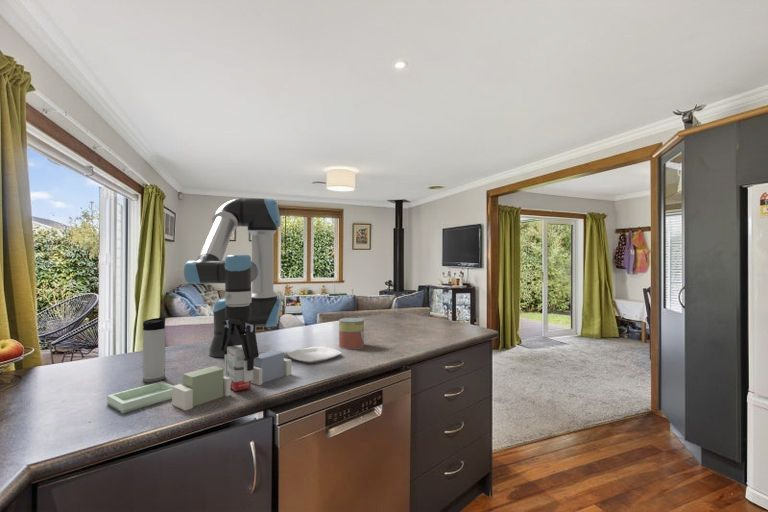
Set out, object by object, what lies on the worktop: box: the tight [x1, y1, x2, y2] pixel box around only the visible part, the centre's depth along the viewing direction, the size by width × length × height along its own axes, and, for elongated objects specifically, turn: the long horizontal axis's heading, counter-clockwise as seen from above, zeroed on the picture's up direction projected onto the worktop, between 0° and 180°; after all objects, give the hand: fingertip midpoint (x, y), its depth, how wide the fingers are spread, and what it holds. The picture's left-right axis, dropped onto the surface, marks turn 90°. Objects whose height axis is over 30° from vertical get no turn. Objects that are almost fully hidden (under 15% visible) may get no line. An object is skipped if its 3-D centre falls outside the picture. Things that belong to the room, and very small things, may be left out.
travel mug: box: [142, 316, 166, 383], centre depth 121 cm, size 6×7×20 cm
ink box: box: [226, 345, 252, 392], centre depth 113 cm, size 8×5×12 cm, turn 39°
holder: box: [171, 357, 292, 412], centre depth 113 cm, size 7×36×5 cm, turn 145°
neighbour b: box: [254, 349, 285, 384], centre depth 122 cm, size 5×9×8 cm, turn 145°
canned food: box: [338, 317, 365, 350], centre depth 165 cm, size 11×11×12 cm
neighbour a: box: [182, 365, 224, 407], centre depth 104 cm, size 5×9×8 cm, turn 145°
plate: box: [286, 345, 343, 364], centre depth 147 cm, size 19×19×2 cm
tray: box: [107, 380, 174, 414], centre depth 103 cm, size 10×14×2 cm
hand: (238, 377), depth 113 cm, fingers closed on ink box, 9 cm apart
